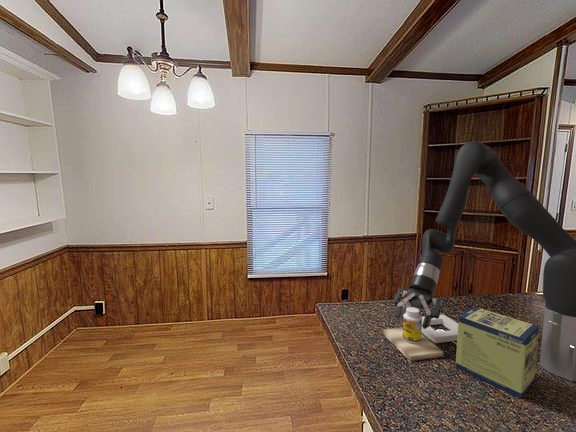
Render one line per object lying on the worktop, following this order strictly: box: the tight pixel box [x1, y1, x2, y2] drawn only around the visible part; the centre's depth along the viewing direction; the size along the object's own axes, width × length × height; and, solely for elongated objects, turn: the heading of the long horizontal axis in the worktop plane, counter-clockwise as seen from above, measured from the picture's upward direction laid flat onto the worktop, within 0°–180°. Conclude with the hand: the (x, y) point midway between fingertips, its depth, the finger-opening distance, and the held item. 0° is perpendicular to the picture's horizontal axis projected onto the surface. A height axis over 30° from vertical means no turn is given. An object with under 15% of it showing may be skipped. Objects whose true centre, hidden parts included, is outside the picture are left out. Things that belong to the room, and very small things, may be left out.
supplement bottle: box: [402, 306, 423, 343], centre depth 94 cm, size 6×6×10 cm
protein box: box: [454, 306, 540, 400], centre depth 79 cm, size 10×16×16 cm
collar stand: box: [421, 314, 458, 344], centre depth 103 cm, size 14×14×2 cm
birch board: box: [382, 326, 444, 362], centre depth 95 cm, size 16×11×2 cm
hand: (410, 323), depth 93 cm, fingers open, 8 cm apart
